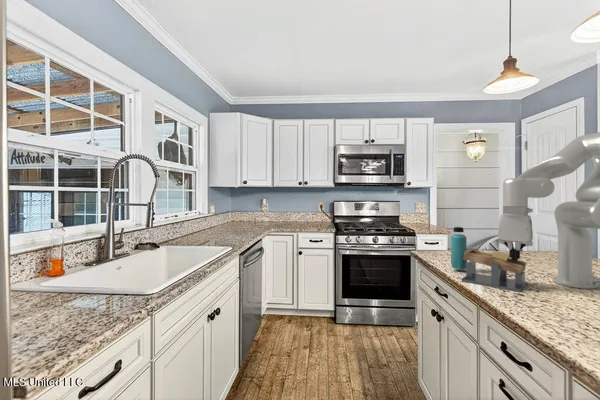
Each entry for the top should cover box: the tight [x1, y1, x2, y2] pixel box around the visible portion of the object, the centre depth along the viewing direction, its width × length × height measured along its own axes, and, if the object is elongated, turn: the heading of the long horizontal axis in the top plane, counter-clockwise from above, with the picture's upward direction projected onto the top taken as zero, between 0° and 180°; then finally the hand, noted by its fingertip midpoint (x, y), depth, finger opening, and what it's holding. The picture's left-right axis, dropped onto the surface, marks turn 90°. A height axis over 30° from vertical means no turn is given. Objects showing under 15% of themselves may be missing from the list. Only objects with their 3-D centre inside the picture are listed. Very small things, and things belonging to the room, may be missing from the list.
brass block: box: [491, 250, 511, 262], centre depth 114 cm, size 5×5×3 cm
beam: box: [463, 248, 527, 274], centre depth 115 cm, size 19×8×3 cm, turn 43°
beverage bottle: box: [450, 226, 468, 270], centre depth 134 cm, size 6×7×20 cm
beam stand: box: [461, 260, 528, 293], centre depth 116 cm, size 19×13×9 cm
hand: (514, 260), depth 110 cm, fingers closed
